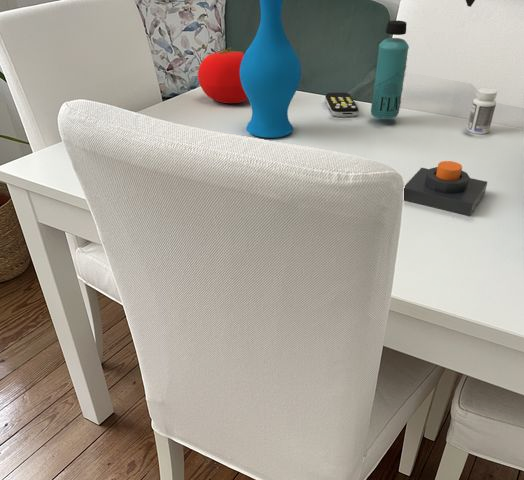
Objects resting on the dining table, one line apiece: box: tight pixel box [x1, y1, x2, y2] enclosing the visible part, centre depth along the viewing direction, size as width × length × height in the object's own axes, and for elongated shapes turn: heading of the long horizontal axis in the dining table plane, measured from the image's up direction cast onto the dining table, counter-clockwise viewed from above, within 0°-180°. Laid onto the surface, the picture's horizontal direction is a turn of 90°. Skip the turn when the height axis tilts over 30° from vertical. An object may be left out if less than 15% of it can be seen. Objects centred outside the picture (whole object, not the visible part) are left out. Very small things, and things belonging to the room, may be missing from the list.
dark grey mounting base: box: [403, 166, 488, 217], centre depth 99 cm, size 12×10×4 cm
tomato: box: [197, 46, 248, 104], centre depth 136 cm, size 12×14×11 cm
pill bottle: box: [466, 87, 498, 135], centre depth 122 cm, size 5×5×8 cm
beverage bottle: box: [370, 19, 410, 120], centre depth 123 cm, size 6×7×20 cm
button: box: [436, 160, 463, 181], centre depth 97 cm, size 4×4×2 cm
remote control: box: [324, 92, 359, 118], centre depth 135 cm, size 6×13×2 cm, turn 4°
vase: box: [240, 0, 302, 139], centre depth 115 cm, size 12×13×28 cm
